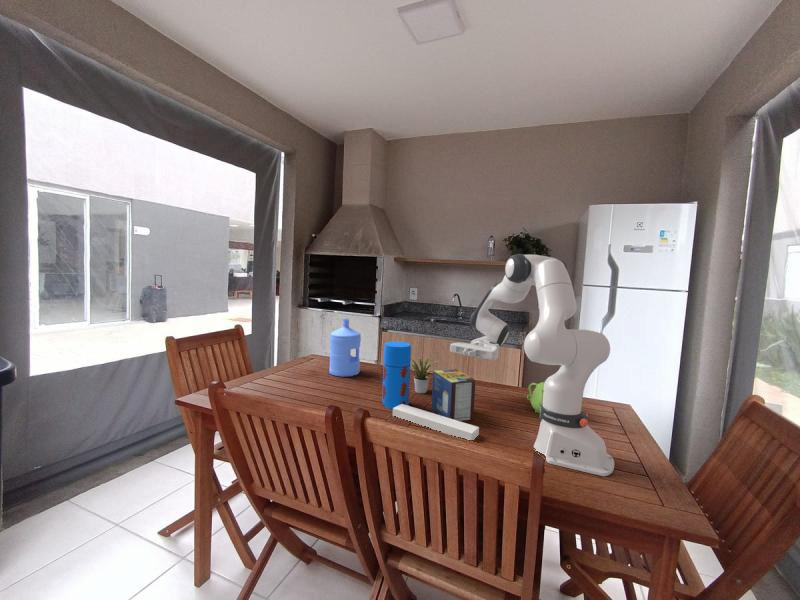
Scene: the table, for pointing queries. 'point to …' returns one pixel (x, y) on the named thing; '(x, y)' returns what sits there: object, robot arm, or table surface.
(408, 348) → the thermos
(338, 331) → the water jug
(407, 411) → the board
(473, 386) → the protein box
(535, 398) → the teapot
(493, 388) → the table surface
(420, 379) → the house plant
